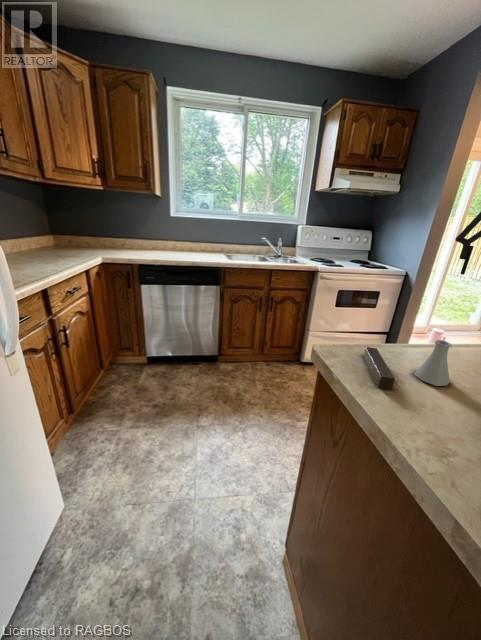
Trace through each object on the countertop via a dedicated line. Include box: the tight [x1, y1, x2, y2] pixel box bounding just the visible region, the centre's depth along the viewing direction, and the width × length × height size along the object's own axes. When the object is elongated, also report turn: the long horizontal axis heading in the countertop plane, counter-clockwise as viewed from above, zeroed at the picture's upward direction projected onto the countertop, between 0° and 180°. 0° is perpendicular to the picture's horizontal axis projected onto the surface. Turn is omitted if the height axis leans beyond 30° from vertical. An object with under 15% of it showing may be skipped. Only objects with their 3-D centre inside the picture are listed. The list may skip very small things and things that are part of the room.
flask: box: [414, 339, 453, 387], centre depth 66 cm, size 7×7×10 cm
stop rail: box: [363, 346, 396, 390], centre depth 70 cm, size 3×16×3 cm, turn 168°
